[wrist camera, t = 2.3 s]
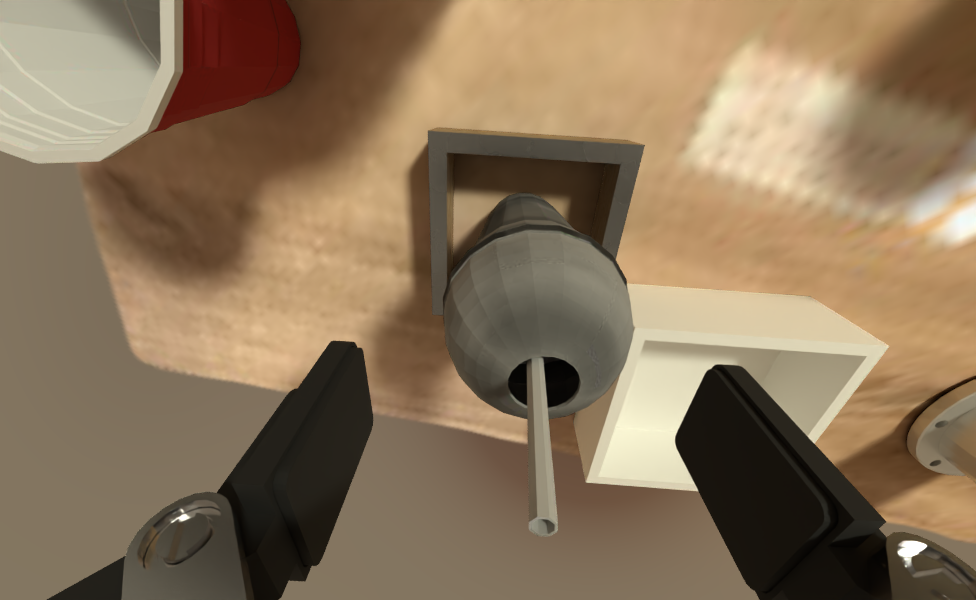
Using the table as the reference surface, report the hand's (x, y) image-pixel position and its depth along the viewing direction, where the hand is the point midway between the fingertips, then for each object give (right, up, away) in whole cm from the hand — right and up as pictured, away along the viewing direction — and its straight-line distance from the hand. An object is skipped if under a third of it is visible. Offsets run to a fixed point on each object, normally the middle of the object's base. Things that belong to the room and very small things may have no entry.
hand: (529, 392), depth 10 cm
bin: (+15, -3, +19) cm, 24 cm away
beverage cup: (+1, +8, +14) cm, 16 cm away
